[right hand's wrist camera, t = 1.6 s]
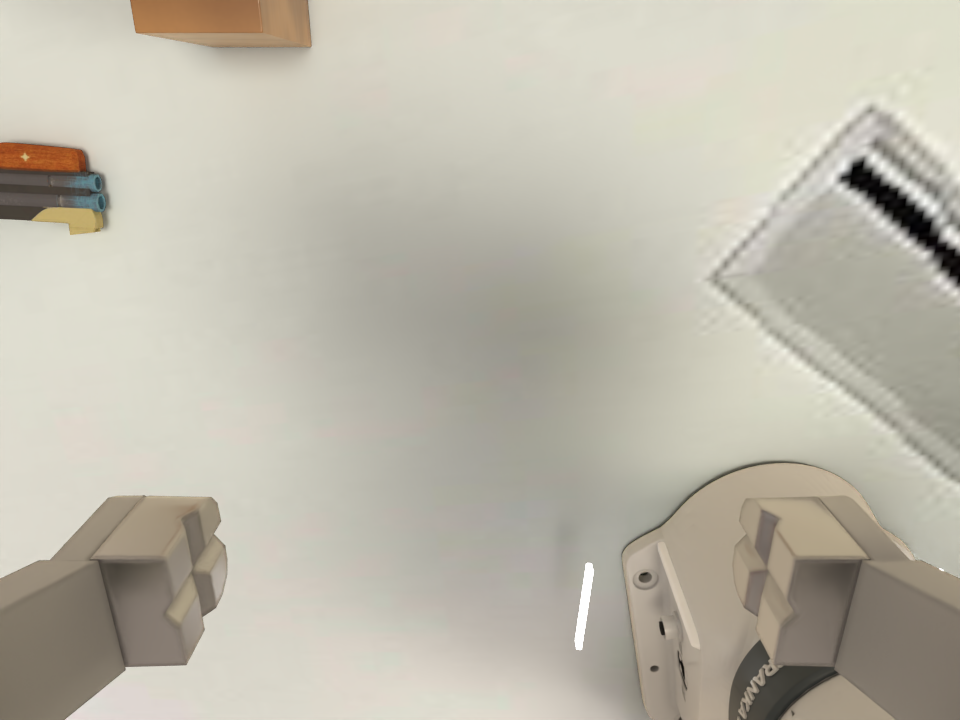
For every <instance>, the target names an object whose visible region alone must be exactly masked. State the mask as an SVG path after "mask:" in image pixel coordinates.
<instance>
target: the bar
mask: <svg viewBox="0 0 960 720" xmlns="http://www.w3.org/2000/svg"><path fill="white" fill-rule="evenodd" d="M130 2H131V8H132V14H133V19H134V25H135V31H136V33H139V34H144V35H150V36H155V37H161V38H166V39H172V40H177V41H183V42H188V43H194V44H199V45H204V46H210V47H311V35H310V23H309V11H308V0H130Z"/></svg>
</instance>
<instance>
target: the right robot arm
mask: <svg viewBox="0 0 960 720" xmlns="http://www.w3.org/2000/svg"><path fill="white" fill-rule="evenodd" d="M220 522H221V518H220V513H219V508H218V504H217V502H216V501H215V500H214V499H213V498H212V497H183V496H144V495H140V496H114V497H110V498H108V499H107V500H106V501H105V502H104V503H103V504H102V505H101V506H100V507H99V508H98V509H97V510H96V511H95V512H94V513H93V515H92V516H91V517H90V518H89V519H88V520H87V521H86V522H85V523H84V524H83V525H82V526H81V527H80V528H79V530H78V531H77V532H76V533H75V534H74V535H73V536H72V537H71V538H70V539H69V540H68V541H67V542H66V543H65V545H64V546H63V547H62V548H61V549H60V550H59V551H58V552H57V553H56V554H55V555H54V556H53V557H52V558H51V559H50V560H39V561H37V562H34V563H32V564H30V565H28V566H26V567H24V568H22V569H20V570H18V571H15V572H13V573H11V574H9V575H7V576H5V577H3V578H1V579H0V720H65V719H66V718H67V717H68V716H70V715H71V714H72V713H73V712H75V711H76V710H77V709H78V708H80V707H81V706H82V705H83V704H84V703H86V702H87V701H88V700H89V699H91V698H92V697H93V696H94V695H96V694H97V693H98V692H99V691H100V690H102V689H103V688H104V687H105V686H107V685H108V684H109V683H110V682H112V681H113V680H114V679H115V678H116V677H118V676H119V675H120V674H121V673H123V672H124V671H125V667H140V666H175V665H187V663H188V661H189V659H190V657H191V655H192V653H193V651H194V649H195V648H196V646H197V644H198V642H199V640H200V638H201V636H202V634H203V632H204V630H205V629H204V624H203V618H202V617H203V616H205V615H206V614H208V613H209V612H211V611H212V610H214V609H215V608H216V607H217V605H218V603H219V601H220V599H221V597H222V595H223V591H224V587H225V582H226V578H227V554H226V547H225V545H224V544H223V543H222V542H221V541H220V540H219V539H218V538H217V537H216V536H215V535H214V532H215V531H216V529H217V527H218V526H219V524H220ZM622 563H623V570H624V577H625V584H626V591H627V598H628V605H629V612H630V618H631V625H632V632H633V639H634V646H635V653H636V660H637V667H638V674H639V680H640V687H641V694H642V700H643V704H644V706H645V709H646V711H647V714H648V715H649V717H651V718H652V719H654V720H960V579H959V578H957V577H955V576H953V575H951V574H949V573H947V572H944V571H943V570H942V569H938V568H936V567H934V566H932V565H930V564H928V563H926V562H923V561H921V560H915V558H914V556H913V554H912V553H911V551H910V550H909V549H908V547H907V546H906V545H905V544H904V543H903V542H902V541H901V540H900V539H899V538H897V537H896V536H894V535H893V534H891V533H890V532H888V531H887V530H885V529H883V528H882V527H881V526H880V525H879V523H878V521H877V520H876V518H875V516H874V515H873V513H872V511H871V509H870V508H869V506H868V504H867V502H866V501H865V499H864V498H863V497H862V495H861V494H860V493H859V492H858V491H857V490H856V489H855V488H854V487H853V486H852V485H851V484H849V483H848V482H847V481H845V480H844V479H842V478H840V477H839V476H837V475H835V474H833V473H831V472H828V471H826V470H823V469H820V468H817V467H813V466H809V465H803V464H795V463H772V464H763V465H757V466H753V467H748V468H745V469H741V470H738V471H735V472H733V473H730V474H728V475H725V476H723V477H721V478H719V479H717V480H715V481H713V482H712V483H710V484H708V485H707V486H705V487H704V488H702V489H701V490H699V491H698V492H697V493H695V494H694V495H693V496H692V497H690V498H689V499H688V500H687V501H686V502H685V503H684V504H683V505H682V506H681V507H680V508H679V509H678V510H677V511H676V513H675V514H674V515H673V516H672V517H671V518H670V519H669V520H668V521H667V522H666V523H665V524H664V525H662V526H661V527H660V528H658V529H656V530H654V531H652V532H650V533H648V534H646V535H644V536H642V537H640V538H639V539H637V540H635V541H634V542H632V543H631V544H630V545H628V546H627V547H626V548H625V550H624V552H623V554H622ZM593 572H594V571H593V567H592V563H586V569H585V576H584V582H583V589H582V596H581V603H580V610H579V616H578V623H577V630H576V637H575V644H576V649H577V650H582V644H583V637H584V630H585V624H586V617H587V611H588V604H589V598H590V591H591V585H592V578H593ZM644 572H648V573H647V574H646V575H643V576H641V575H640V574H641V573H644Z"/></svg>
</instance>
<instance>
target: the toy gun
mask: <svg viewBox="0 0 960 720" xmlns="http://www.w3.org/2000/svg"><path fill="white" fill-rule="evenodd" d="M101 189H102V180H101V178H100V176H99V175H98V174H94V172H86V164H85V156H84V154H83V152H82V150H79V149H72V148H62V147H53V146H42V145H31V144H20V143H0V219H15V220H31V221H40V222H58V223H69V229H70V235H73V234H82V233H91V232H99V231H100V228H102V227H103V218H102V215H101V212H103V211H104V210H105V207H106V201H105V197H104V196H103V194H101V193H96V192H100V191H101Z"/></svg>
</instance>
